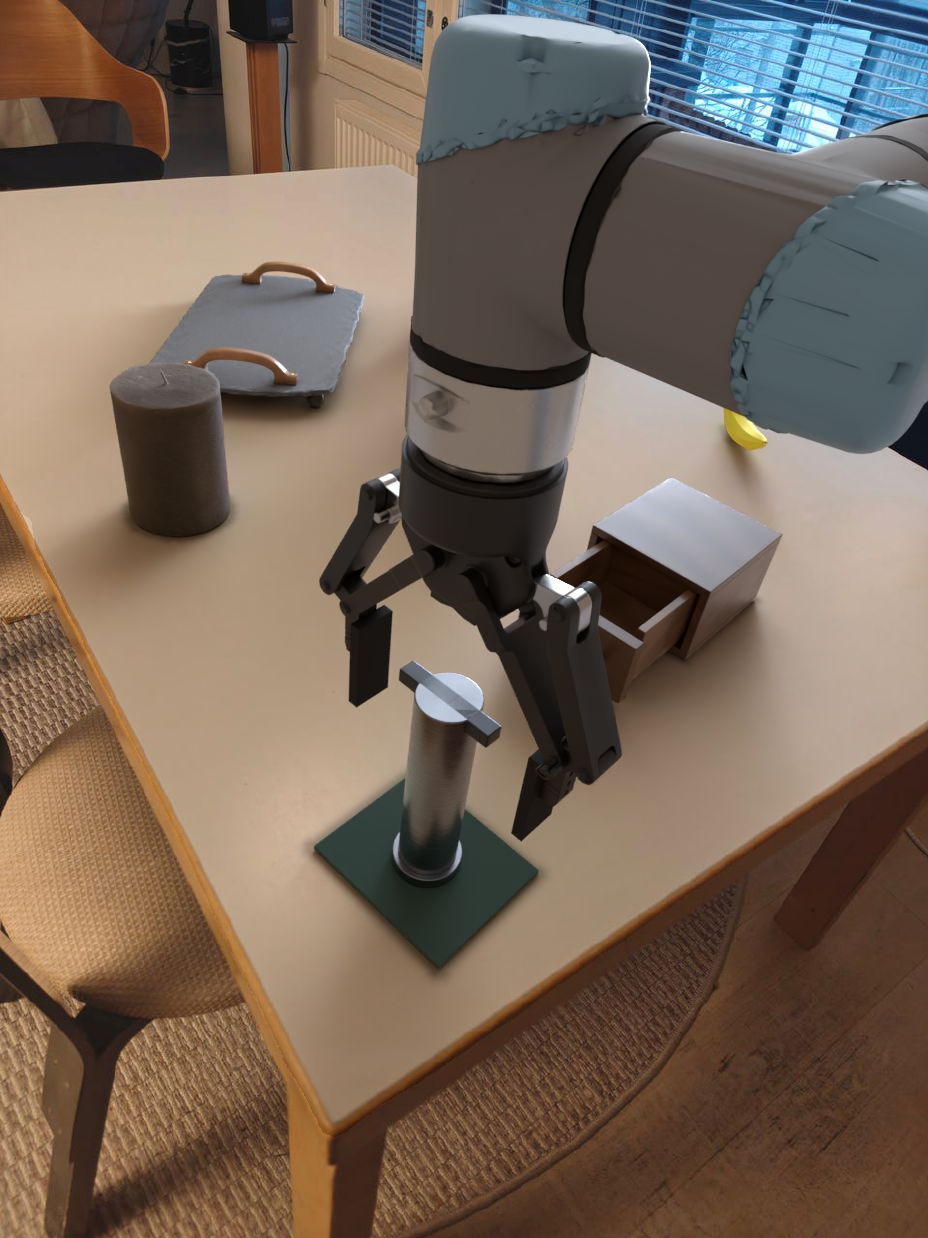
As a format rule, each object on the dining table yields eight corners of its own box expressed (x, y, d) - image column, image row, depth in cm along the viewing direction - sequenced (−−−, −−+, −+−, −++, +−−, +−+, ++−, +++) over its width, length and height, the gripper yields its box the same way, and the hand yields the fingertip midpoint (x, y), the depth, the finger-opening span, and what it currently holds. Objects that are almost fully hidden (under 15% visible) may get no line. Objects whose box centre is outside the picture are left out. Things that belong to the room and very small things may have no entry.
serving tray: (219, 286, 132) (216, 244, 128) (369, 304, 133) (371, 263, 129) (138, 401, 103) (131, 351, 99) (331, 423, 104) (332, 375, 100)
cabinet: (684, 660, 78) (711, 592, 73) (575, 592, 84) (592, 524, 79) (754, 599, 86) (783, 534, 81) (651, 541, 92) (671, 476, 87)
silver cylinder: (487, 869, 59) (523, 710, 49) (438, 913, 56) (465, 754, 46) (415, 807, 62) (434, 646, 52) (366, 846, 59) (376, 683, 49)
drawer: (581, 736, 69) (597, 680, 65) (476, 660, 74) (485, 604, 70) (694, 639, 79) (715, 586, 75) (596, 579, 85) (610, 526, 81)
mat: (538, 873, 60) (539, 870, 59) (438, 970, 54) (439, 967, 53) (416, 772, 65) (417, 768, 65) (313, 849, 59) (313, 845, 59)
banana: (740, 476, 105) (757, 429, 101) (711, 404, 120) (725, 361, 116) (763, 478, 105) (781, 432, 101) (732, 407, 120) (746, 364, 116)
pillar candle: (179, 549, 82) (160, 406, 73) (109, 511, 86) (82, 369, 76) (251, 507, 89) (242, 371, 79) (183, 473, 92) (167, 338, 83)
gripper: (245, 361, 42) (265, 674, 55) (681, 617, 30) (570, 933, 44) (360, 327, 46) (353, 624, 60) (778, 538, 35) (650, 847, 48)
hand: (444, 755), depth 52 cm, fingers open, 13 cm apart
